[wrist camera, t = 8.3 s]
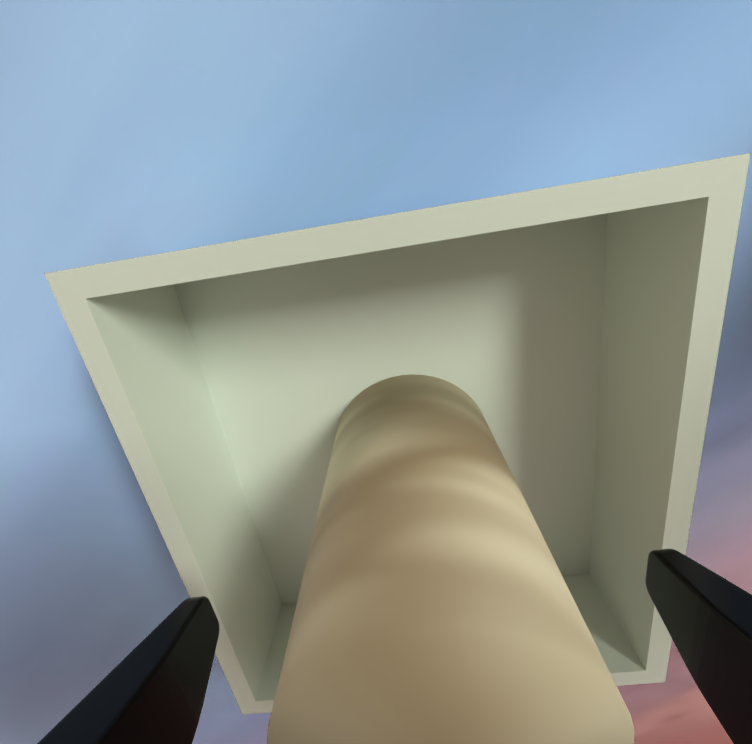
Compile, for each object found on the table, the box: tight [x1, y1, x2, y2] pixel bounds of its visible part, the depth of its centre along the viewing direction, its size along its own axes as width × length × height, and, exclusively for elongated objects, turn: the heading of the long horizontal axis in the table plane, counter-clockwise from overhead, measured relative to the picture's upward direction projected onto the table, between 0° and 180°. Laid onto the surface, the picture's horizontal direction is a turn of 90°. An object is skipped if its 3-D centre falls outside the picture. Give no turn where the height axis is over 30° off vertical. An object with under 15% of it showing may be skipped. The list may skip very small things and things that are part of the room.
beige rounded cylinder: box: [267, 374, 634, 744], centre depth 9 cm, size 5×5×8 cm
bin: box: [44, 153, 750, 714], centre depth 12 cm, size 13×14×4 cm
